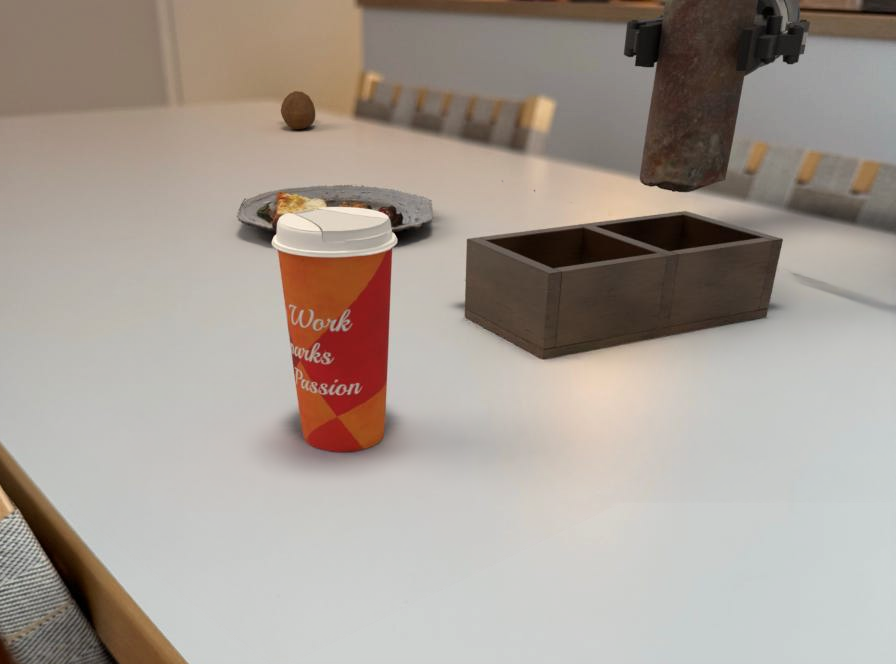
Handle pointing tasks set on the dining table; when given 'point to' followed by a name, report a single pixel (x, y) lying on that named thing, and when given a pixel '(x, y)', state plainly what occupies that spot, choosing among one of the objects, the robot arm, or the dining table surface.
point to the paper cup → (338, 321)
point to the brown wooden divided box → (618, 281)
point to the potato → (298, 110)
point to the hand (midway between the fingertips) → (692, 48)
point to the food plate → (336, 204)
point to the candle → (695, 93)
